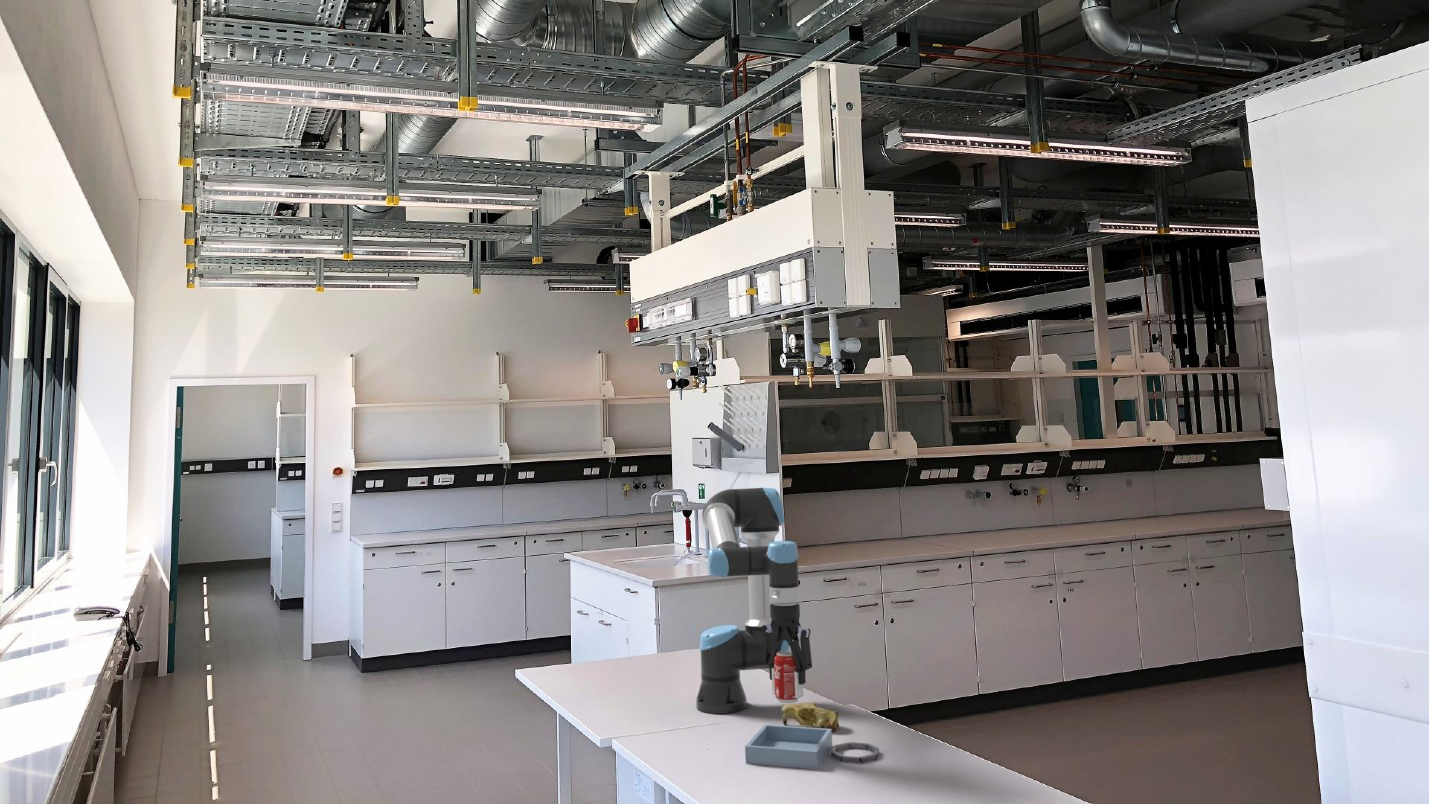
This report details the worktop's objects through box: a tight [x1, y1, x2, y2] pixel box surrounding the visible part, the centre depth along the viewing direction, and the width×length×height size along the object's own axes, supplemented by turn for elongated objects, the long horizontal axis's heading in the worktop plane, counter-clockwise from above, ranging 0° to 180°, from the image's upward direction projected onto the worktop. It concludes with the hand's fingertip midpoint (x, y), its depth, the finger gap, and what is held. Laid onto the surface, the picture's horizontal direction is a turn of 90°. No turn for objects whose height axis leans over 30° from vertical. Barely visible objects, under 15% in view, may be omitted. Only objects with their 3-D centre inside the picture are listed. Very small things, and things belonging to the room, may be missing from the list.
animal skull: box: [781, 702, 840, 734], centre depth 255 cm, size 10×16×7 cm
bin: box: [744, 724, 833, 770], centre depth 234 cm, size 18×18×4 cm
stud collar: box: [830, 741, 880, 764], centre depth 232 cm, size 12×12×1 cm
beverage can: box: [774, 650, 800, 704], centre depth 235 cm, size 6×6×12 cm
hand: (788, 694), depth 235 cm, fingers closed on beverage can, 6 cm apart
